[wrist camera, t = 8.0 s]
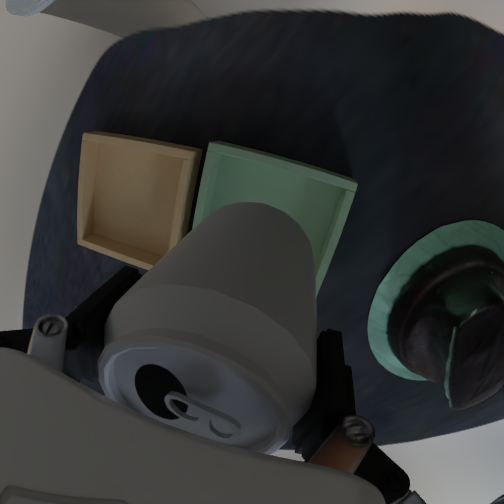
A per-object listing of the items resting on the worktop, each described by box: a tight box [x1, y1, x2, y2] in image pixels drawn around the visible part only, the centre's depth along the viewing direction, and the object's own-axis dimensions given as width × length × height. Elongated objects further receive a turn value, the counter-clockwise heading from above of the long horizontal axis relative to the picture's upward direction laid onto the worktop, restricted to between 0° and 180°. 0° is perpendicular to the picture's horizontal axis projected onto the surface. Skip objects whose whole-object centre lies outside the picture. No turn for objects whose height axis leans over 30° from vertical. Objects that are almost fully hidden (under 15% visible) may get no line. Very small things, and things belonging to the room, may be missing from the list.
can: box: [97, 201, 317, 455], centre depth 13 cm, size 8×8×12 cm
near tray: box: [192, 141, 358, 297], centre depth 24 cm, size 11×11×2 cm
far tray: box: [77, 131, 203, 270], centre depth 25 cm, size 11×11×2 cm
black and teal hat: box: [368, 220, 504, 411], centre depth 23 cm, size 15×19×20 cm
